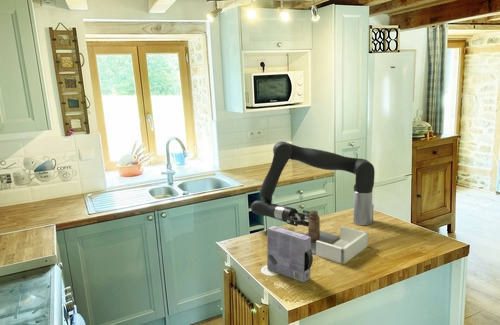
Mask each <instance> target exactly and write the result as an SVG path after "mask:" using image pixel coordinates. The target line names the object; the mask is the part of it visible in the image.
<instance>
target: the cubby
mask: <svg viewBox="0 0 500 325" xmlns="http://www.w3.org/2000/svg"><path fill="white" fill-rule="evenodd" d="M339 228H340V229H339V230H340V231H339V233H340V234H339V236H340V238H339V239H337V240H336V241H334V242H333V243H331V244H328V243H325V242H321V241H318V240H317V241H316V254H315V256H316V257H317V256H318V257H320V258H323V259H327V260H329V261H332V262H334V263H335V262H336V263H338V264H342V265H345V264H346V263H348V262H349V261H350V260H351V259H353V258H354V257H355V256H357V255H358V254H360V253H361V252H362V251H363V250H364V249H366V248H368V247H369V232H367V231H365V230H364V231H363V230H359V229H356V228H352V227H347V226H344V225H341V226H339Z"/></svg>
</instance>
